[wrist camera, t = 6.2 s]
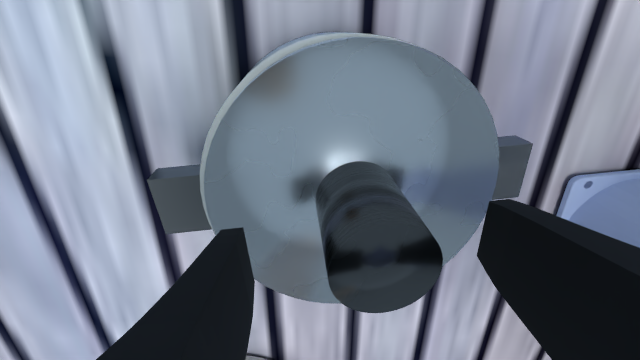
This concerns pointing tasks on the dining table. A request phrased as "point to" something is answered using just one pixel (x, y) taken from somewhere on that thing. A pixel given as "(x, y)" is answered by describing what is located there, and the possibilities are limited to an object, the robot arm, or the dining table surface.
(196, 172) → the pot
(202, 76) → the dining table surface
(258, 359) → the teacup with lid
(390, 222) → the lid
